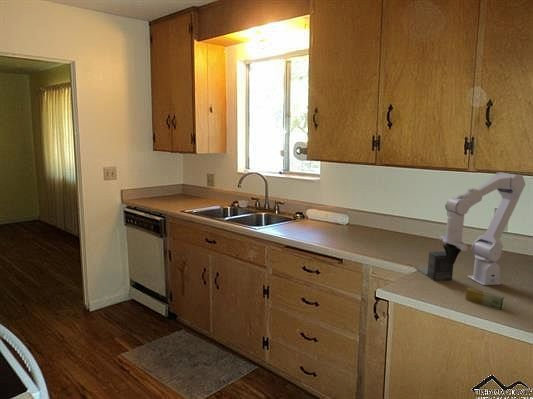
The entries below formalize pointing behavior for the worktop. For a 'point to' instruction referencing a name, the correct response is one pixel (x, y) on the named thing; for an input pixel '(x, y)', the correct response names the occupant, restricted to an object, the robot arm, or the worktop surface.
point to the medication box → (485, 298)
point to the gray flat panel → (422, 270)
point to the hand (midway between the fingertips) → (450, 263)
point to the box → (439, 267)
